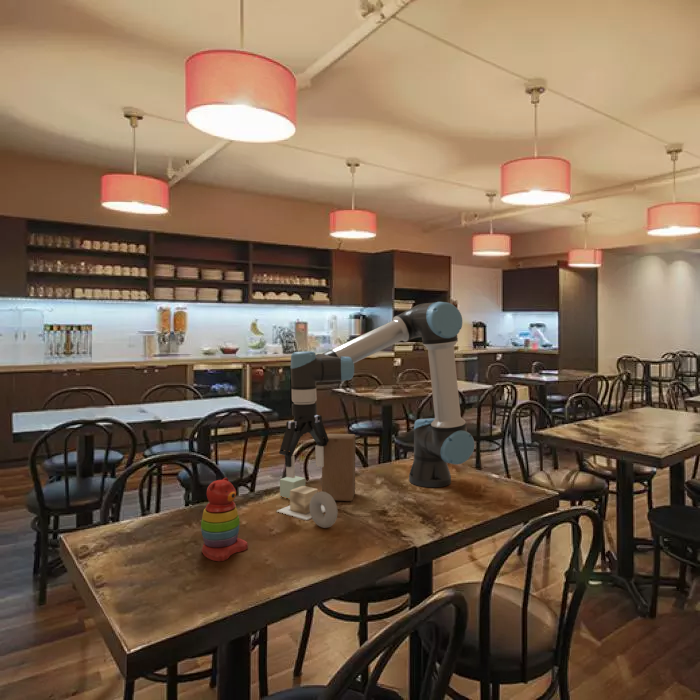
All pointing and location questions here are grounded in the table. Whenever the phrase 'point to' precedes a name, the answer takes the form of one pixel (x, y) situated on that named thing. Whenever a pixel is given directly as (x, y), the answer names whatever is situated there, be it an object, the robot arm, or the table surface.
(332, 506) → the donut
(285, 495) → the sage cube
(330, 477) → the wooden block
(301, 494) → the maple cube
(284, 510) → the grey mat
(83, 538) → the table surface
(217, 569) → the table surface
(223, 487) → the stacking bear
